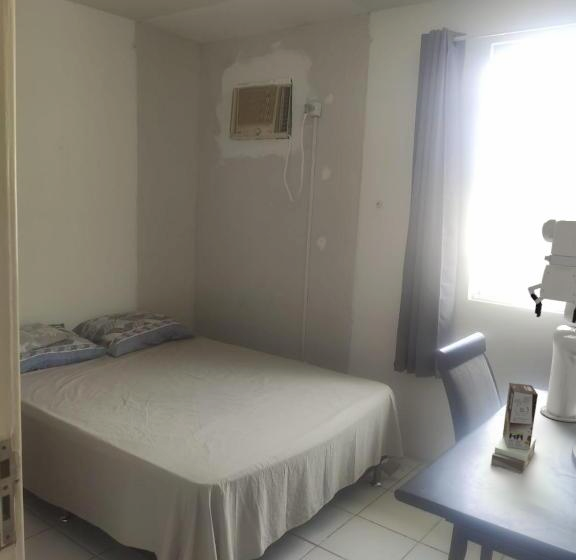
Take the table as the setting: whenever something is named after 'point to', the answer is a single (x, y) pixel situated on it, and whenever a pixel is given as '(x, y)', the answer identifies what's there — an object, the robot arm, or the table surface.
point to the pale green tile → (513, 450)
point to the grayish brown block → (510, 462)
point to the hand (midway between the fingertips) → (555, 319)
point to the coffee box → (519, 416)
